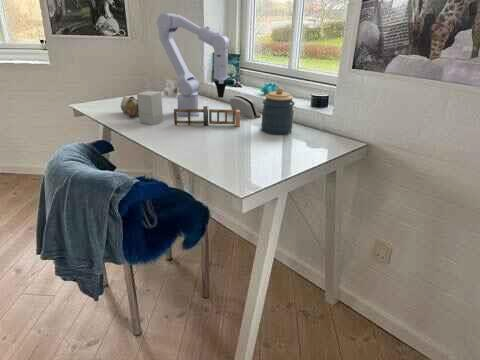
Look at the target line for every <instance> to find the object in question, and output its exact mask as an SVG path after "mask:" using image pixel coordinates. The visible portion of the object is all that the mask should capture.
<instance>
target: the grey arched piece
mask: <svg viewBox="0 0 480 360" xmlns="http://www.w3.org/2000/svg"><path fill="white" fill-rule="evenodd" d="M229 102H230V107H231V110H235V113H236V110H240V115H242V116H244V117H247V118H250V119H252V120H253V119H256V117H258V118H262V115H261V113H259V112H258V110H257V106H256V103H255V102H254V100H252V99H251V98H249V97H247V96H246V95H243V94H237V95H234V96H233V97H232V96H231V98H230V99H229Z"/></svg>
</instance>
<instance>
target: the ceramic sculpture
mask: <svg viewBox="0 0 480 360" xmlns="http://www.w3.org/2000/svg"><path fill="white" fill-rule="evenodd" d="M120 109H121V111H122V112H123V113H125V114H126V115H128V116H129V117H130V118H134V117H136V116H139V110H138V100H137V99H136V98H135V97H134V96H130V97H126V96H123V98H122V100H121V102H120Z"/></svg>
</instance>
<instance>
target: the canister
mask: <svg viewBox="0 0 480 360" xmlns="http://www.w3.org/2000/svg"><path fill="white" fill-rule="evenodd" d="M264 98H265V99H263V100H262V105H263V108H261V111H262V115H261V125H260V127H261V131H262V132H264V133H266V134H269V135H276V136H280V135H287V134H291V132H292V130H293V119H294V112H295V111H294V106H295V104H296V102H295V101H294V100H293V99H294V96H293V95H292V94H290V93H289V92H286V91H284V90H283V88H282V87H277V88H276V91H275V90H274V91H269V92H267V94H265V95H264Z"/></svg>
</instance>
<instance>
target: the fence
mask: <svg viewBox="0 0 480 360" xmlns="http://www.w3.org/2000/svg"><path fill="white" fill-rule="evenodd" d="M178 112H188V116H187V120H178ZM190 112H199V113H203V112H204V110H203V108H201V109H200V108H198V109H178V108H173V118H174V126H178V124H181V125H183V124H184V125H185V124H187V126H189V125H190V126H191V125H196V124H197V125H201V124H203V125H204V120H191V116H190Z"/></svg>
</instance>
